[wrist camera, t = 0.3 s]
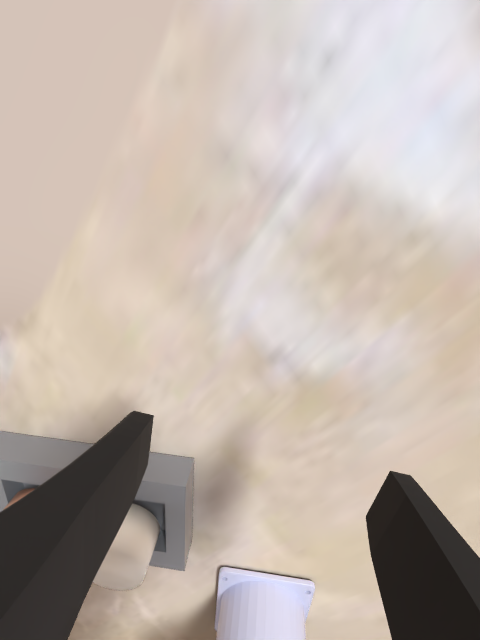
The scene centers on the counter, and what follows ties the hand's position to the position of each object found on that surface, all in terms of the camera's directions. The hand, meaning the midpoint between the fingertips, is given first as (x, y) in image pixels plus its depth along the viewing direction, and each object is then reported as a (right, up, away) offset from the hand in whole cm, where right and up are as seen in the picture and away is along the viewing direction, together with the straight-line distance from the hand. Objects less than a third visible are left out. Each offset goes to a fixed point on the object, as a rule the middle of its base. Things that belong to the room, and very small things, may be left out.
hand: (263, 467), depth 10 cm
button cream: (-9, -10, +14) cm, 19 cm away
